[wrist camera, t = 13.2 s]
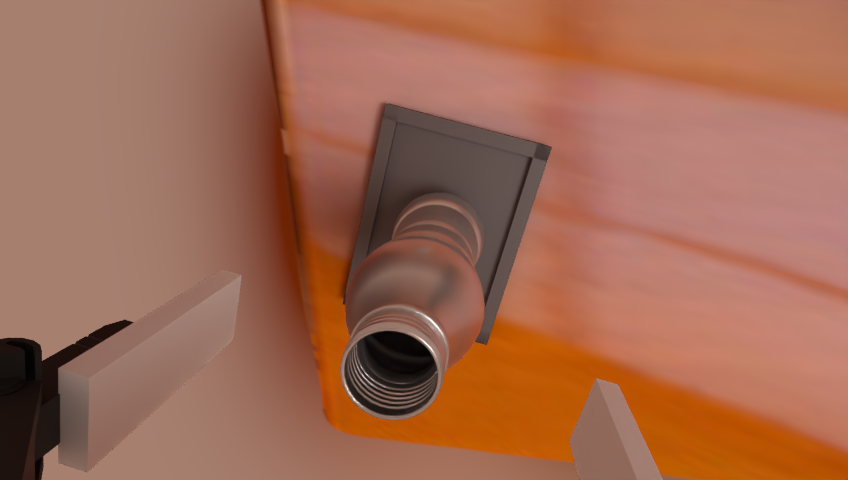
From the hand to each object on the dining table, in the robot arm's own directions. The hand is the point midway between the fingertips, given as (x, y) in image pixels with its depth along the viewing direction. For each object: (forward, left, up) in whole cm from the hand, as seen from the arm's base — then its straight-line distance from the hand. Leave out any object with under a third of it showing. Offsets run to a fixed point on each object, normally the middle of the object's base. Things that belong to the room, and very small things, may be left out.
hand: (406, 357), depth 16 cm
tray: (0, 0, -20) cm, 20 cm away
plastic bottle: (0, 0, -19) cm, 19 cm away
